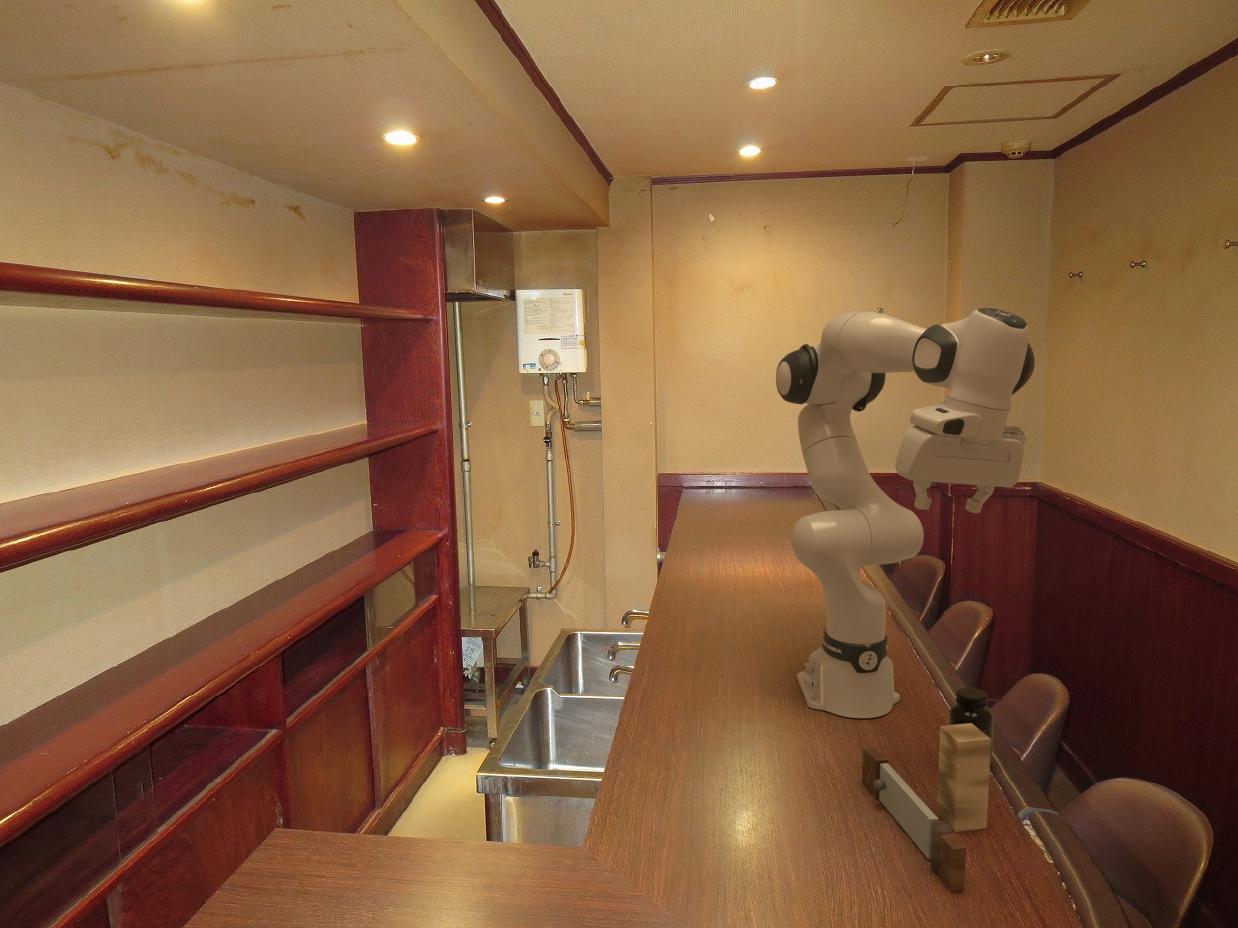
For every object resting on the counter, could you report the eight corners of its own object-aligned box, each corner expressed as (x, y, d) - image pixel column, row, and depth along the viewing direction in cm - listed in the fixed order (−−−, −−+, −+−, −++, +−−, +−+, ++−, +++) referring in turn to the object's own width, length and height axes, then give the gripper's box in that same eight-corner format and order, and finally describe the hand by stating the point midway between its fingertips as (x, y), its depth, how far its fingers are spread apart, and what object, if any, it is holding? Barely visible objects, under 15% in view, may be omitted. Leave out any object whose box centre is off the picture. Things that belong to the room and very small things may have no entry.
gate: (936, 858, 113) (938, 818, 112) (917, 860, 112) (919, 820, 111) (886, 798, 127) (887, 762, 126) (869, 800, 127) (870, 764, 126)
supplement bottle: (980, 748, 142) (983, 683, 140) (999, 768, 136) (1002, 700, 134) (941, 750, 142) (943, 685, 140) (958, 770, 135) (961, 702, 134)
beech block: (936, 812, 124) (940, 725, 122) (967, 809, 124) (971, 722, 122) (954, 831, 119) (958, 742, 117) (986, 828, 120) (991, 738, 117)
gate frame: (860, 782, 133) (861, 745, 132) (874, 780, 133) (875, 743, 132) (949, 891, 106) (950, 845, 105) (966, 889, 107) (968, 843, 106)
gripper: (1012, 422, 126) (987, 506, 129) (902, 410, 119) (878, 499, 123) (1043, 433, 120) (1016, 520, 124) (929, 421, 113) (904, 514, 117)
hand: (947, 509), depth 123 cm, fingers open, 8 cm apart
